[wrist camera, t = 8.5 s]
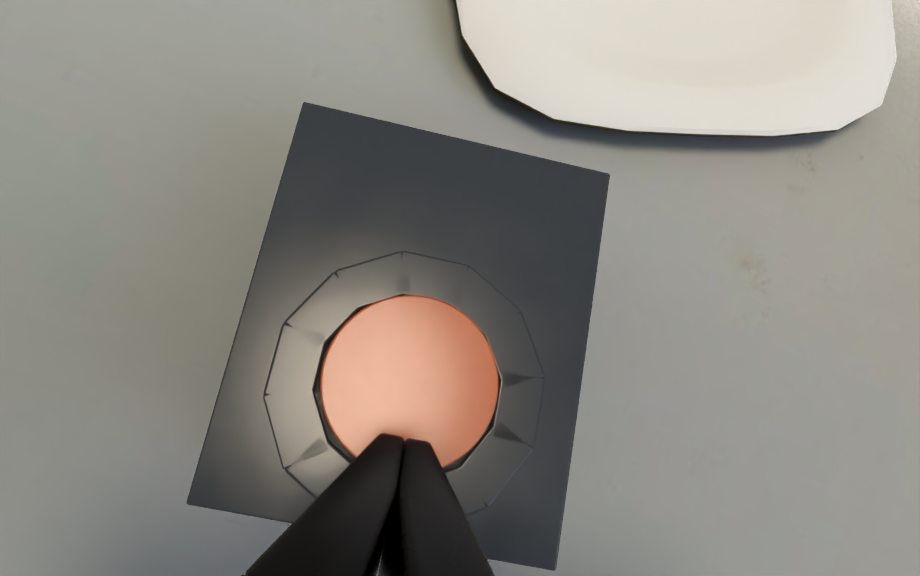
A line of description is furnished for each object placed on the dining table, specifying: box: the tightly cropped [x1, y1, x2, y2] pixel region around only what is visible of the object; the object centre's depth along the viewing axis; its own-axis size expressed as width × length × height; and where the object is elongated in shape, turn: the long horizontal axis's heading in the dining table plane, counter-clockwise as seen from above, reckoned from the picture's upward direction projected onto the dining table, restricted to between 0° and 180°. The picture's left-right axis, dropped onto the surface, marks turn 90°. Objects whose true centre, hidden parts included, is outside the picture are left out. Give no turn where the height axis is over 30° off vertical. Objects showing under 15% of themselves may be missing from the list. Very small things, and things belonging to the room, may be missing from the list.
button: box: [320, 295, 498, 468], centre depth 14 cm, size 4×4×2 cm
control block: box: [187, 102, 610, 571], centre depth 19 cm, size 12×10×8 cm
